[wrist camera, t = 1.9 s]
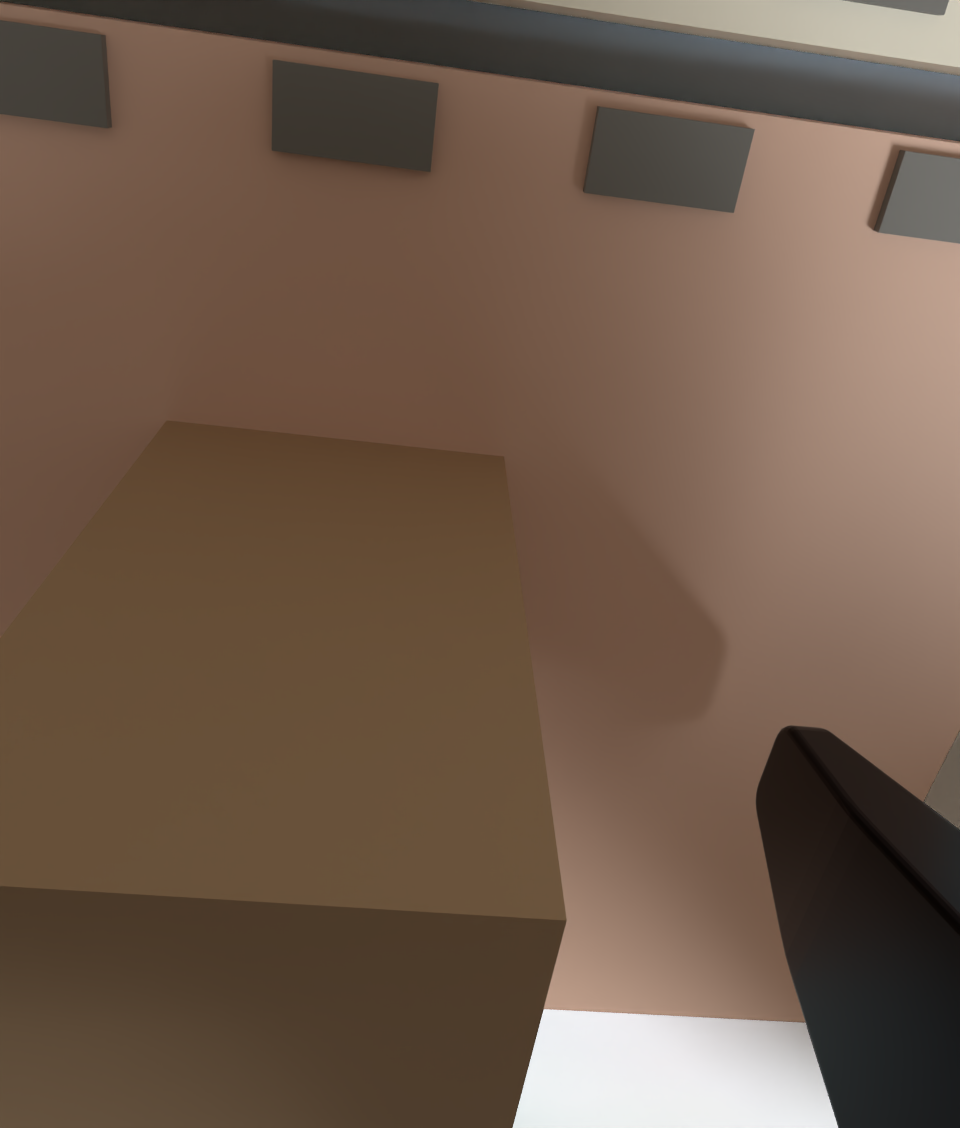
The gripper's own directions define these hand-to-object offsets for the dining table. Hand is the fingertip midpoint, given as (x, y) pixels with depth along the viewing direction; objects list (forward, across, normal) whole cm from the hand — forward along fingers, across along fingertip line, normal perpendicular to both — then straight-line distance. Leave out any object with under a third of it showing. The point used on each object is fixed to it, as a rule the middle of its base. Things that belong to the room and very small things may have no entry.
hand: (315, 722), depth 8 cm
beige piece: (+2, 0, 0) cm, 2 cm away
